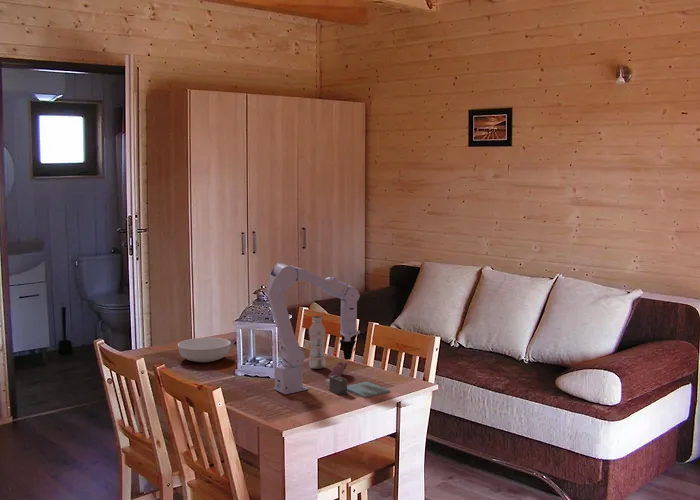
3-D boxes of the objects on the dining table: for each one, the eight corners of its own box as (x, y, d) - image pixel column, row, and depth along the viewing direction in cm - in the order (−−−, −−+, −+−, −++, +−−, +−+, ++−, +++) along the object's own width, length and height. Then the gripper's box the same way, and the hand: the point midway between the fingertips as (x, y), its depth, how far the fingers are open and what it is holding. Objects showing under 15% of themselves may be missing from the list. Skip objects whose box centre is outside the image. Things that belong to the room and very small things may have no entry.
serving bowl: (241, 357, 311) (241, 341, 311) (205, 369, 294) (205, 352, 293) (203, 350, 322) (203, 334, 322) (166, 362, 305) (166, 344, 304)
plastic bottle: (305, 369, 294) (305, 318, 292) (313, 365, 300) (313, 314, 298) (321, 371, 292) (321, 319, 289) (328, 367, 298) (328, 316, 295)
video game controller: (337, 384, 280) (345, 368, 279) (326, 378, 281) (334, 362, 279) (343, 377, 290) (351, 361, 288) (332, 371, 290) (340, 355, 289)
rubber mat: (364, 397, 260) (364, 396, 260) (342, 388, 270) (342, 386, 270) (390, 391, 267) (390, 390, 266) (367, 383, 277) (367, 381, 277)
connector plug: (341, 395, 262) (341, 381, 261) (323, 388, 271) (323, 374, 270) (349, 394, 264) (349, 380, 263) (331, 386, 272) (331, 373, 272)
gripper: (359, 323, 267) (358, 362, 269) (360, 315, 281) (360, 351, 283) (338, 323, 267) (338, 361, 269) (341, 314, 282) (341, 351, 283)
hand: (348, 356), depth 276 cm, fingers open, 7 cm apart
